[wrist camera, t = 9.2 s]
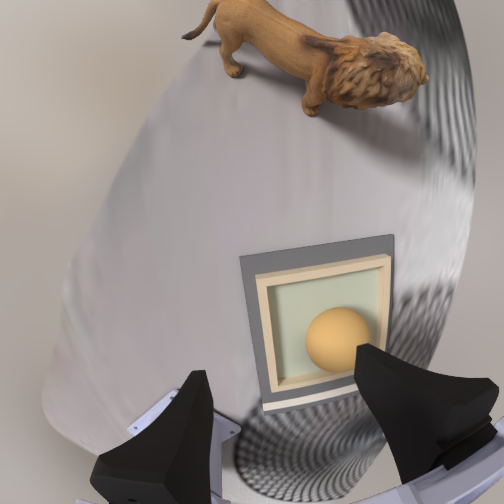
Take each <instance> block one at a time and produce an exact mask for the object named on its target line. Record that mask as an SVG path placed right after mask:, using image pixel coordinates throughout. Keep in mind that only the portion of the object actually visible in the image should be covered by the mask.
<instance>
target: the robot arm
mask: <svg viewBox="0 0 504 504" xmlns="http://www.w3.org/2000/svg"><path fill="white" fill-rule="evenodd" d="M354 380H355V382H356V385H357V387H358V390H359V392H360V394H361V396H362V397H363V399H364V400H365V402H366V404H367V405H368V407H369V409H370V410H371V412H372V413H373V415H374V417H375V418H376V420H377V421H378V423H379V425H380V427H381V428H382V430H383V432H384V435H385V437H386V439H387V442H388V444H389V446H390V449H391V452H392V454H393V457H394V460H395V463H396V466H397V468H398V472H399V475H400V479H401V482H402V485H400V486H398V487H394V488H392V489H390V490H387V491H385V492H382V493H380V494H377V495H375V496H371V497H369V498H366V499H363V500H360V501H357V502H354V503H351V504H470V503H472V502H473V501H474V500H475V499H477V498H478V497H479V496H481V495H482V494H483V493H484V492H486V491H487V490H488V489H489V488H490V487H491V486H493V485H494V484H495V483H496V482H498V481H499V480H500V479H501V478H502V477H503V476H504V416H503V417H502V418H501V419H499V420H498V421H497V422H496V423H495V424H494V426H493V425H492V424H491V423H490V422H491V420H492V418H491V417H490V416H489V413H490V411H491V409H492V407H493V406H494V404H495V402H496V399H497V397H498V394H499V387H498V386H497V385H496V384H494V382H492V381H491V380H490V379H489V378H463V377H454V376H448V375H443V374H439V373H435V372H431V371H428V370H425V369H422V368H419V367H416V366H414V365H412V364H409V363H407V362H405V361H402V360H400V359H398V358H396V357H394V356H392V355H390V354H388V353H387V352H385V351H383V350H381V349H379V348H377V347H375V346H373V345H371V344H369V343H366V344H362V345H358V346H357V349H356V359H355V369H354ZM173 397H174V398H173ZM127 430H128V432H129V433H131V434H132V435H134V437H133V438H131V439H130V440H128V441H127V442H125V443H123V444H122V445H120V446H118V447H116V448H114V449H112V450H110V451H108V452H106V453H103V454H101V455H99V457H98V459H97V461H96V463H95V466H94V469H93V472H92V475H91V477H90V483H91V485H92V486H93V487H94V488H95V490H96V491H97V492H98V493H99V494H100V495H102V496H103V497H104V498H105V499H106V500H107V501H108V502H109V504H231V501H229V500H225V499H222V443H223V442H224V441H226V440H228V439H229V438H231V437H232V436H234V435H236V434H237V433H239V432H240V431H241V427H240V426H239V425H237V424H235V423H233V422H232V421H230V420H228V419H226V418H224V417H222V416H221V415H219V414H217V413H215V412H214V406H213V398H212V394H211V390H210V387H209V383H208V379H207V375H206V371H205V370H197V371H192V372H191V373H190V374H189V376H188V378H187V379H186V381H185V382H184V384H183V385H182V387H181V388H180V390H176V389H175V390H172V391H171V392H170V393H169V394H167V395H166V396H165V397H164V398H163V399H162V400H160V401H159V402H158V403H157V404H156V405H154V406H153V407H152V408H151V409H150V410H148V411H147V412H146V413H145V414H144V415H142V416H141V417H140V418H139V419H138V420H136V421H135V422H134V423H133V424H131V425H130V426H129V427H128V429H127ZM76 504H96V503H92V502H88V501H85V500H81V499H77V501H76Z"/></svg>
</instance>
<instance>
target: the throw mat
mask: <svg viewBox="0 0 504 504" xmlns="http://www.w3.org/2000/svg"><path fill="white" fill-rule="evenodd" d="M240 264H241V271H242V277H243V284H244V290H245V297H246V304H247V310H248V317H249V323H250V329H251V336H252V342H253V348H254V355H255V361H256V367H257V373H258V379H259V385H260V391H261V397H262V403H263V409H264V415H271V414H277V413H283V412H289V411H294V410H299V409H304V408H308V407H313V406H317V405H321V404H325V403H329V402H333V401H337V400H341V399H345V398H348V397H352V396H355V395H358V394H360V392H359V390H358V387H357V385H356V382H355V380H354V369H355V368H353V369H351V370H349V371H346V372H341V373H332V372H327V371H324V370H322V369H321V368H319V367H317V366H316V365H315V364H314V363H313V362H312V360H311V359H310V357H309V356H308V353H307V350H306V345H305V339H306V333H307V330H308V328H309V326H310V324H311V322H312V321H313V320H314V319H315V318H316V317H317V316H318V315H319V314H320V313H322V312H324V311H326V310H328V309H331V308H337V307H342V308H348V309H351V310H353V311H355V312H357V313H358V314H360V315H361V316H362V317H363V318H364V319H365V321H366V322H367V324H368V326H369V329H370V333H371V345H373V346H375V347H377V348H379V349H381V350H383V351H385V352H387V350H388V342H389V333H390V323H391V311H392V296H393V272H394V235H393V234H388V235H381V236H375V237H368V238H361V239H355V240H348V241H341V242H335V243H328V244H321V245H314V246H308V247H301V248H294V249H287V250H280V251H274V252H267V253H260V254H253V255H246V256H240Z"/></svg>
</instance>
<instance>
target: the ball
mask: <svg viewBox="0 0 504 504" xmlns="http://www.w3.org/2000/svg"><path fill="white" fill-rule="evenodd" d="M366 343H369V344H371V333H370V329H369V326H368V324H367V322H366V321H365V319H364V318H363V317H362V316H361V315H360V314H358V313H357V312H355V311H353V310H351V309H348V308H342V307H337V308H331V309H328V310H326V311H324V312H322V313H320V314H319V315H318V316H317V317H316V318H315V319H314V320H313V321H312V322H311V324H310V326H309V328H308V330H307V333H306V339H305V345H306V350H307V353H308V356H309V357H310V359H311V360H312V362H313V363H314V364H315V365H316V366H317V367H319V368H321V369H322V370H324V371H327V372H332V373H341V372H346V371H349V370H351V369H353V368H355V359H356V349H357V346H358V345H362V344H366Z"/></svg>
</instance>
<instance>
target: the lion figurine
mask: <svg viewBox="0 0 504 504" xmlns="http://www.w3.org/2000/svg"><path fill="white" fill-rule="evenodd" d="M215 12H216V16H215V20H214V23H213V27H214V29H215V31H216V32H217V33H219V36H220V38H221V41H222V45H221V46H220V48H219V52H220V54H221V57H222V60H223V64H224V69H225V71H226V73H227V74H228V75H229V76H231V77H237V76H239V75H240V73H241V72H242V70H243V68H242V66H241V64H239V63H238V62H236V61H235V60H234V59H233V57H232V53H233V52H235V51H236V50H238V49H239V47H240V46H241V44H242V43H243V42H245V41H247V42H249V43H251V44H253V45H254V46H255V47H256V48H257V49H258V50H259V51H260V52H261V53H262V54H263V55H264V56H265V57H266V58H267V59H268V60H269V61H270V62H271V63H273V64H274V65H275V66H277V67H278V68H280V69H282V70H283V71H285V72H287V73H289V74H292V75H294V76H296V77H299V78H301V79H304V80H305V85H306V93H305V95H304V96H303V98H302V108H303V111H304V113H305V114H307V115H308V116H312V115H315V114H317V113H318V112H319V109H320V106H319V105H318V104H321V103H323V102H324V101H326V100H327V99H328V100H329V101H330V102H332V103H335V104H336V105H337V106H339V107H340V108H348V107H353V108H354V109H357V110H361V109H365V108H376V107H377V106H379V107H385V106H387V105H392V104H394V103H396V102H405V101H406V100H409V99H412V97H413V96H414V94H415V92H416V90H417V88H418V87H419V86H420V85H423V84H425V83H427V82H428V81H429V76H428V75H427V74H426V73H425V66H424V65H423V63H422V62H421V58H420V56H419V55H418V51H417V50H416V49H415V48H413V47H411V46H409V45H407V44H406V43H405V42H400V40H399V38H398V37H396V36H394V35H390V34H389V33H387V32H382V33H380V34H379V36H378V37H368V38H367V37H366V38H363V39H359V38H355V37H354V36H346V37H343V38H342V39H338V38H332V37H326V36H324V35H321V34H319V33H317V32H316V31H314V30H313V29H311V28H309V27H307V26H306V25H304V24H302V23H300V22H298V21H295V20H293V19H291V18H289V17H287V16H285V15H283V14H282V13H280V12H279V11H277V10H276V9H275V8H274V7H272V6H271V5H270V4H269V3H268V2H267V1H266V0H212V1H211V2H210V3H209V5H208V7H207V10H206V12H205V15H204V17H203V20H202V22H201V24H200V25H199V26H198V28H196V29H195V30H194V31H191V32H189V33H187V34H186V35H183V36H182V39H186V40H192V39H194V38H196V37H197V36H199V35H200V34H201V33H202V32H203V30H204V29H205V28H206V27H207V25H208V23H209V22H210V21H211V19H212V17H213V15H214V14H215Z"/></svg>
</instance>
